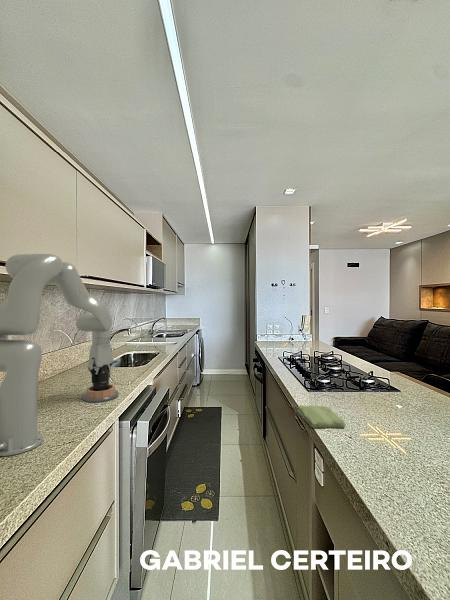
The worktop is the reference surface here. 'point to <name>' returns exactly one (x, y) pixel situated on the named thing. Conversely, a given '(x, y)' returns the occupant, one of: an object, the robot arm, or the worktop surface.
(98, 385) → the supplement bottle
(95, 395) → the bottle holder
